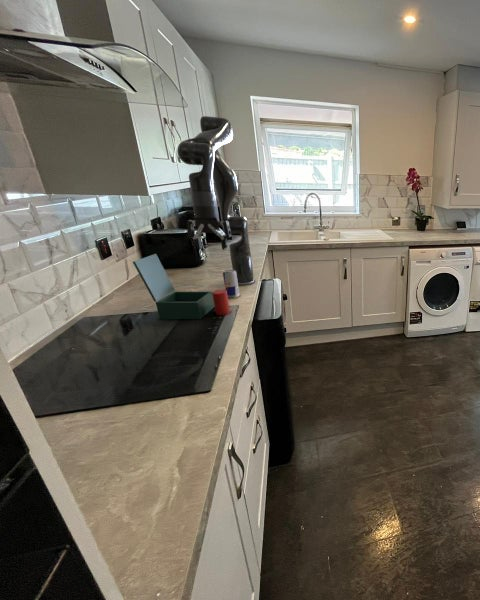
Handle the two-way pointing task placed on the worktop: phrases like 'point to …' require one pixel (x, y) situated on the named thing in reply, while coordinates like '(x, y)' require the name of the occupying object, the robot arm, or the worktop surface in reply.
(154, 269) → the lid
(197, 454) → the worktop surface
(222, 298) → the tin
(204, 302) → the box
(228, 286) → the energy drink
